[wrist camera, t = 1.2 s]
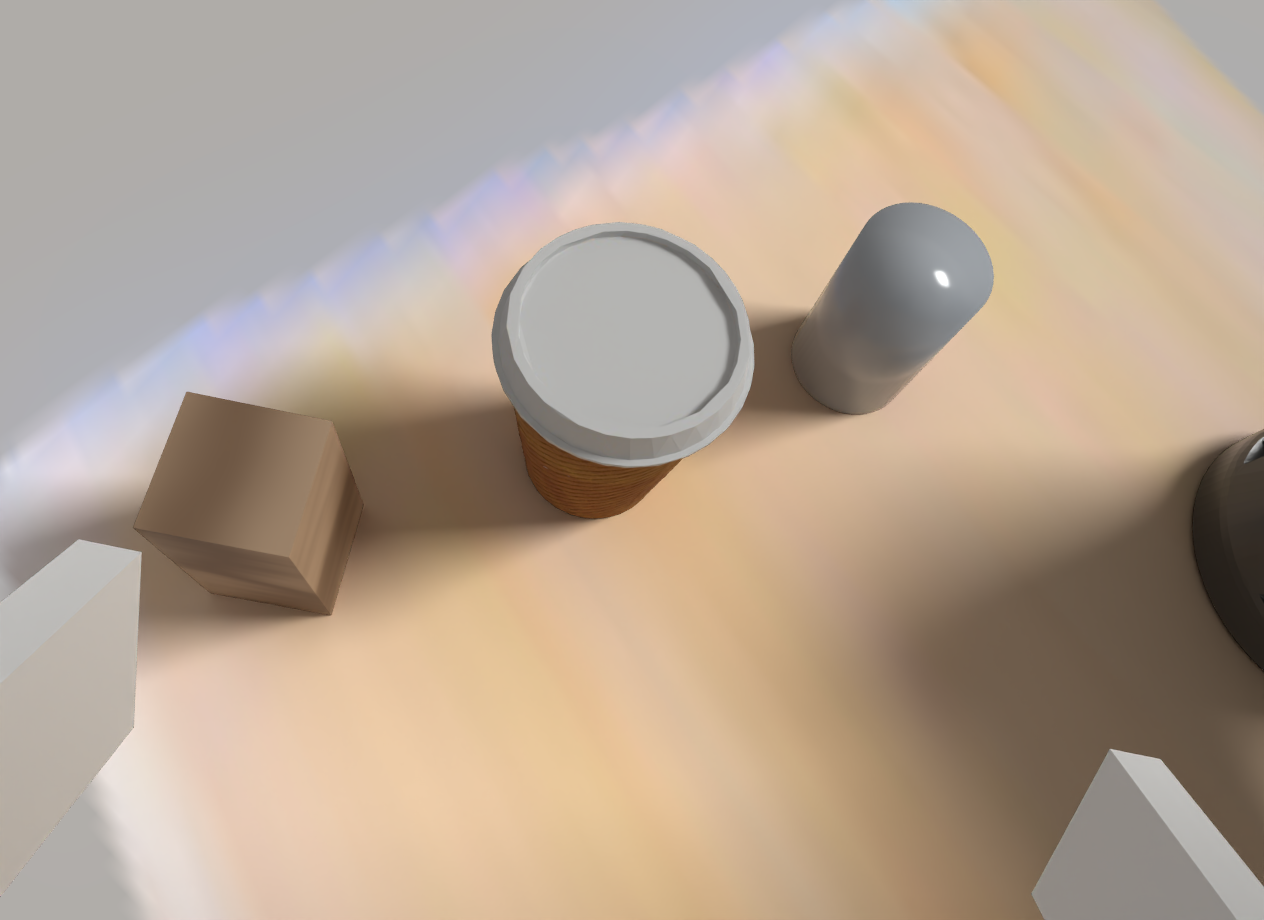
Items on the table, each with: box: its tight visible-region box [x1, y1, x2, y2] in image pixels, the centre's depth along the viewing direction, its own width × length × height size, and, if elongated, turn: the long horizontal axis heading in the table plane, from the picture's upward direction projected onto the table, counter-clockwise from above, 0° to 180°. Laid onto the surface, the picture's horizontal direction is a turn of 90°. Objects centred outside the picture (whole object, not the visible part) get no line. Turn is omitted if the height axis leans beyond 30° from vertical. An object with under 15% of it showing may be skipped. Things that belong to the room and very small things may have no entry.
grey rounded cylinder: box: [791, 203, 994, 414], centre depth 42 cm, size 6×6×9 cm
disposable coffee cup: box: [492, 222, 754, 519], centre depth 37 cm, size 10×10×12 cm
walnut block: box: [133, 392, 364, 615], centre depth 34 cm, size 5×5×9 cm
